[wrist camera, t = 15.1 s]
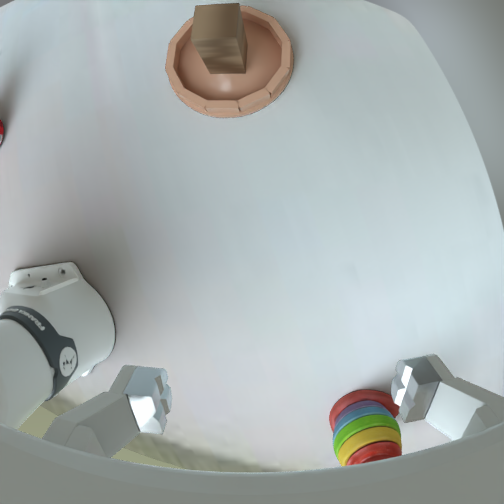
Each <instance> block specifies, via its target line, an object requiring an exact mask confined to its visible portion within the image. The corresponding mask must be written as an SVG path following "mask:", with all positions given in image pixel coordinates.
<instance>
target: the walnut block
mask: <svg viewBox="0 0 504 504" xmlns="http://www.w3.org/2000/svg"><path fill="white" fill-rule="evenodd" d="M191 41H192V43H193V44H194V46H195V48H196V50H197V51H198V53H199V55H200V57H201V58H202V60H203V62H204V64H205V66H206V67H207V69H208V71H209V73H210V74H246V62H247V47H248V44H247V39H246V34H245V29H244V24H243V19H242V15H241V10H240V5H239V3H231V4H211V5H199V6H195V12H194V19H193V25H192V32H191Z"/></svg>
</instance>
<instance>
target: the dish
mask: <svg viewBox="0 0 504 504" xmlns="http://www.w3.org/2000/svg"><path fill="white" fill-rule="evenodd" d="M240 10H241V15H242V19H243V24H244V29H245V34H246V39H247V44H248V47H247V62H246V74H210V73H209V71H208V69H207V67H206V66H205V64H204V62H203V60H202V58H201V57H200V55H199V53H198V51H197V50H196V48H195V46H194V44H193V43H192V41H191V32H192V25H193V19H194V17H193V18H191V19H189V21H186V23H185V24H184V25H183V26H182V27H181V29H180V30H179V31H178V32H177V33H176V35H175V36H174V37H173V38H172V40H171V41H170V43H169V46H168V53H167V59H166V66H165V69H166V72H167V74H168V77H169V81H170V84H171V86H172V88H173V90H174V92H175V93H176V95H177V96H178V97H179V98H180V100H181V101H183V102H184V103H185V104H186V105H187V106H188V107H190V108H191V109H193V110H195V111H197V112H199V113H201V114H204V115H207V116H211V117H216V118H235V117H242V116H245V115H249V114H252V113H254V112H257V111H259V110H261V109H263V108H265V107H266V106H268V105H269V104H270V103H272V102H273V101H274V100H275V99H276V98H277V97H279V95H280V94H281V93H282V92H283V91H284V89H285V87H286V86H287V84H288V82H289V80H290V78H291V74H292V70H293V62H294V59H293V51H292V47H291V44H290V42H291V41H290V39H289V38H288V36H287V35H286V33H285V32H284V30H283V29H282V27H281V26H280V25H279V23H278V22H277V20H276V19H274V17H272V16H270V15H267V14H265V13H263V12H261V11H259V10H256V9H254V8H252V7H249V6H248V7H247V6H240Z"/></svg>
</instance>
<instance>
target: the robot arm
mask: <svg viewBox="0 0 504 504" xmlns="http://www.w3.org/2000/svg"><path fill="white" fill-rule="evenodd" d="M64 270H65V273H64ZM114 342H115V328H114V323H113V319H112V316H111V313H110V311H109V309H108V307H107V305H106V303H105V302H104V300H103V299H102V297H101V296H100V295H99V294H98V293H97V291H96V290H95V289H94V288H92V287H91V286H90V285H89V284H88V283H87V282H86V281H85V280H84V278H83V277H82V275H81V273H80V271H79V269H78V268H77V266H76V265H75V264H74V263H72V262H66V263H59V264H52V265H46V266H39V267H33V268H26V269H20V270H16V271H14V272H12V273H11V276H10V280H9V288H8V289H6V290H4V291H3V292H2V293H1V296H0V504H504V397H502V396H500V395H497V394H495V393H493V392H490V391H488V390H486V389H483V388H481V387H479V386H477V385H474V384H472V383H470V382H467V381H465V380H463V379H461V378H458V377H457V378H454V376H453V375H452V374H451V372H450V371H449V370H448V369H447V367H446V366H445V365H444V363H443V362H442V361H441V360H440V358H439V357H438V356H437V355H435V354H431V355H426V356H422V357H417V358H410V359H404V360H399V361H398V363H397V365H396V371H397V373H398V374H397V375H396V376H395V377H394V378H393V380H392V384H391V394H392V398H393V401H394V403H396V404H398V405H399V406H400V408H399V413H400V415H401V417H402V419H403V421H404V423H407V422H412V421H417V420H422V419H425V421H426V422H428V423H429V424H431V425H432V426H433V427H435V428H436V429H438V430H439V431H440V432H442V433H443V434H444V435H446V436H447V437H449V438H450V439H451V440H453V441H451V442H448V443H445V444H442V445H439V446H435V447H432V448H428V449H425V450H421V451H417V452H414V453H410V454H406V455H401V456H397V457H392V458H388V459H383V460H378V461H373V462H367V463H361V464H355V465H349V466H341V467H334V468H325V469H316V470H305V471H290V472H266V473H235V472H211V471H196V470H185V469H175V468H167V467H160V466H152V465H145V464H140V463H134V462H128V461H123V460H118V459H113V458H111V457H112V456H113V455H115V454H116V453H117V452H118V451H119V450H121V449H122V448H123V447H124V446H125V445H127V444H128V443H129V442H130V441H131V440H132V439H134V438H135V437H136V436H137V435H138V434H139V433H140V432H145V433H154V434H163V432H164V429H165V426H166V423H167V419H166V414H168V413H169V412H170V409H171V404H172V393H171V388H170V387H169V386H168V385H167V384H166V383H167V380H168V375H167V371H166V370H165V369H164V368H153V367H144V366H133V365H124V366H123V367H122V369H121V371H120V372H119V374H118V376H117V377H116V379H115V381H114V383H113V385H112V386H111V388H110V390H109V392H103V393H101V394H99V395H98V396H96V397H94V398H92V399H90V400H88V401H86V402H85V403H83V404H81V405H79V406H77V407H75V408H73V409H71V410H69V411H67V412H66V413H64V414H62V415H60V416H58V417H56V418H55V419H54V421H53V422H52V424H51V425H50V427H49V428H48V430H47V431H46V433H45V435H44V436H43V438H42V439H41V438H38V437H35V436H32V435H30V434H27V433H24V432H22V431H19V430H17V429H18V428H19V427H20V426H21V425H22V423H23V422H24V421H25V420H26V419H27V418H28V417H29V416H30V415H31V414H32V413H33V412H34V410H35V409H36V408H37V407H38V406H39V405H40V404H41V403H42V402H43V401H48V400H50V399H51V398H53V397H55V396H56V395H57V394H58V393H59V391H61V390H62V389H63V388H64V387H66V386H67V385H68V384H70V383H71V382H73V381H74V380H75V379H77V378H78V377H80V376H86V375H88V374H89V373H90V372H91V371H92V369H93V367H94V365H96V364H98V363H99V362H101V361H103V360H105V359H106V358H107V357H108V356H109V355H110V353H111V351H112V349H113V346H114Z"/></svg>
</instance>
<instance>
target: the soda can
mask: <svg viewBox="0 0 504 504" xmlns="http://www.w3.org/2000/svg"><path fill="white" fill-rule="evenodd" d="M3 132H4V128H3V123H2V121H1V120H0V144H1V142H2V139H3Z"/></svg>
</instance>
